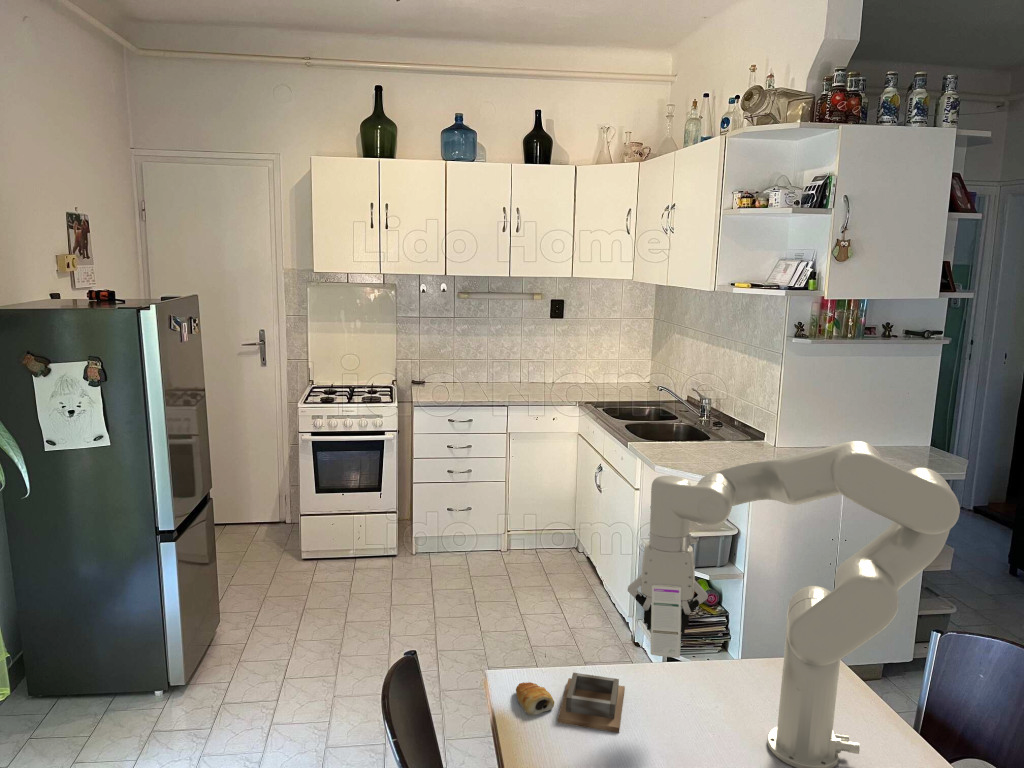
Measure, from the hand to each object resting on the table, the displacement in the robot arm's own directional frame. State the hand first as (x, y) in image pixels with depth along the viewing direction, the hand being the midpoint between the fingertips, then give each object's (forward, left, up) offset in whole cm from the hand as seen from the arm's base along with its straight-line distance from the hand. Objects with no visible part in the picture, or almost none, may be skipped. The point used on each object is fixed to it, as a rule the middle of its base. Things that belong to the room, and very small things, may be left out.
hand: (665, 627), depth 148 cm
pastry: (+25, +2, -19) cm, 32 cm away
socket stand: (+14, 0, -19) cm, 23 cm away
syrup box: (0, 0, -5) cm, 5 cm away
